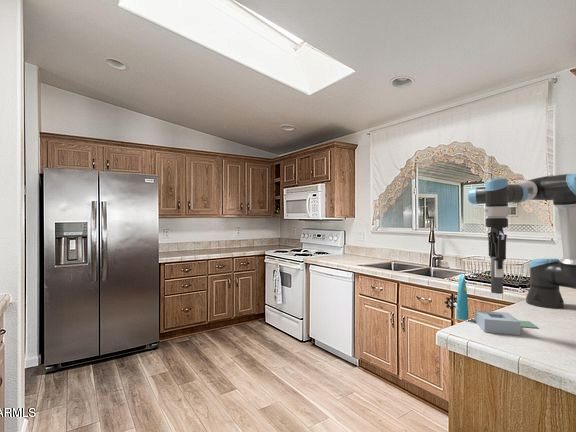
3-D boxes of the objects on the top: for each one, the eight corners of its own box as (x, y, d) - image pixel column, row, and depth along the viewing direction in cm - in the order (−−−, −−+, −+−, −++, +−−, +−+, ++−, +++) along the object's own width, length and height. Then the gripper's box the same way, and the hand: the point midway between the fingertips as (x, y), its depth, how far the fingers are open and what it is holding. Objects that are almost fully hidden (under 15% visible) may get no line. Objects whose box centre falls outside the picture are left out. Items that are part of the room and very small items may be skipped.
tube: (471, 321, 137) (471, 276, 137) (458, 320, 138) (458, 276, 138) (465, 316, 144) (465, 273, 144) (453, 315, 145) (453, 273, 145)
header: (507, 324, 133) (507, 312, 133) (520, 335, 122) (520, 321, 122) (475, 322, 136) (475, 310, 136) (484, 332, 125) (484, 319, 125)
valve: (472, 316, 144) (457, 309, 156) (472, 302, 144) (457, 295, 156) (458, 317, 144) (444, 309, 156) (458, 302, 144) (444, 295, 156)
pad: (529, 322, 136) (529, 321, 136) (538, 328, 129) (538, 327, 129) (507, 320, 138) (507, 319, 138) (515, 326, 131) (515, 325, 131)
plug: (500, 291, 130) (500, 257, 130) (504, 294, 127) (504, 258, 126) (489, 291, 131) (489, 256, 131) (493, 293, 128) (492, 258, 128)
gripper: (479, 217, 138) (479, 272, 138) (493, 217, 122) (493, 279, 122) (499, 217, 136) (499, 272, 136) (516, 217, 120) (516, 280, 120)
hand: (496, 275), depth 129 cm, fingers closed on plug, 4 cm apart
